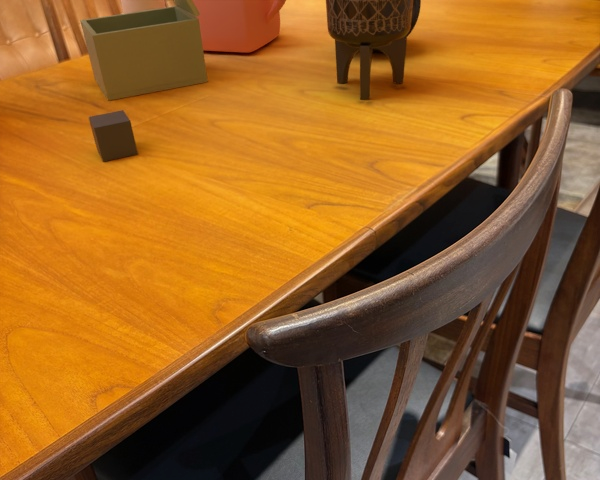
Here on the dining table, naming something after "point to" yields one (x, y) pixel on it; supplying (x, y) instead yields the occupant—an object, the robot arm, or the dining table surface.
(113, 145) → the block
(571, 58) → the dining table surface
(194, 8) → the lid
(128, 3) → the mug
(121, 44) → the chest
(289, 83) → the dining table surface
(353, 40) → the planter
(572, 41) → the dining table surface
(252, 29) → the teapot
